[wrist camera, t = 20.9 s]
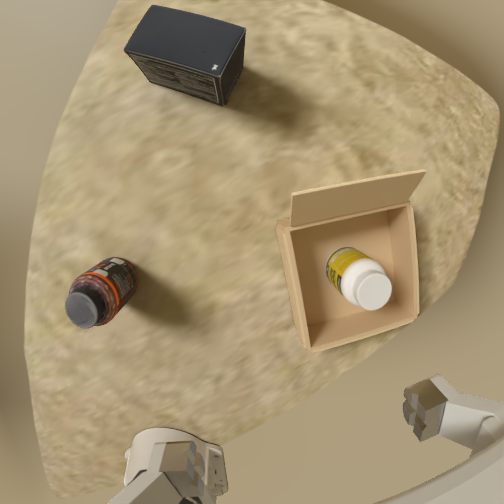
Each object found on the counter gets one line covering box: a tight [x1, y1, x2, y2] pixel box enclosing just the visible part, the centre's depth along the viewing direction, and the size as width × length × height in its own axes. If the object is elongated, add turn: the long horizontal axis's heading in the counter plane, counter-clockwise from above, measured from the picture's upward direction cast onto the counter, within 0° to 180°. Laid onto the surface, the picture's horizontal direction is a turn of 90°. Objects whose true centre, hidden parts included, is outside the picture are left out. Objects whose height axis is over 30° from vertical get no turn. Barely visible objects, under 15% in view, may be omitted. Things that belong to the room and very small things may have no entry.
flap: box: [290, 169, 426, 227], centre depth 29 cm, size 6×14×1 cm
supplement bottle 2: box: [325, 247, 392, 310], centre depth 34 cm, size 5×5×10 cm
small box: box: [124, 5, 246, 106], centre depth 28 cm, size 11×6×10 cm, turn 67°
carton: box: [276, 201, 419, 353], centre depth 36 cm, size 15×16×6 cm
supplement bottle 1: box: [65, 257, 138, 329], centre depth 32 cm, size 6×6×11 cm
